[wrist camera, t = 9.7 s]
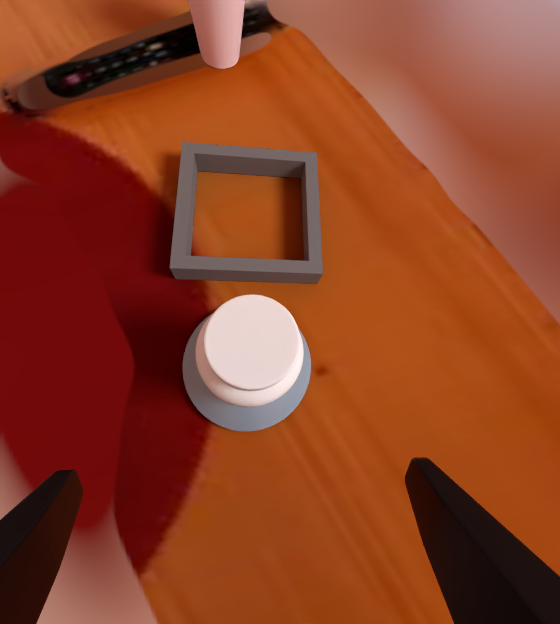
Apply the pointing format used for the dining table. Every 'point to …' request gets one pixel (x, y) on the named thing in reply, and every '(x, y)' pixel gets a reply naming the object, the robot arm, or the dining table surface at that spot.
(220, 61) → the smoothie
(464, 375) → the dining table surface
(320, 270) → the frame
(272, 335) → the supplement bottle
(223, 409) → the coaster
